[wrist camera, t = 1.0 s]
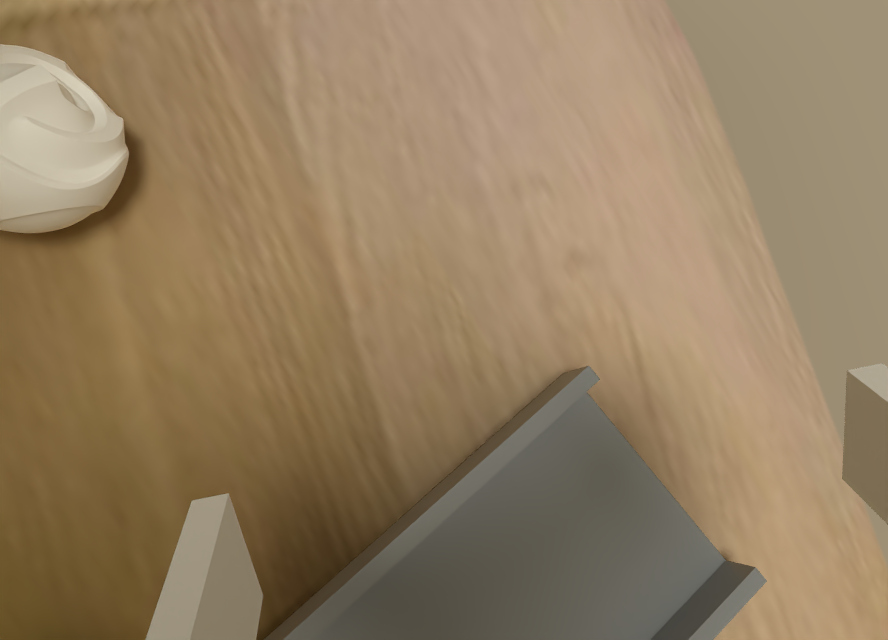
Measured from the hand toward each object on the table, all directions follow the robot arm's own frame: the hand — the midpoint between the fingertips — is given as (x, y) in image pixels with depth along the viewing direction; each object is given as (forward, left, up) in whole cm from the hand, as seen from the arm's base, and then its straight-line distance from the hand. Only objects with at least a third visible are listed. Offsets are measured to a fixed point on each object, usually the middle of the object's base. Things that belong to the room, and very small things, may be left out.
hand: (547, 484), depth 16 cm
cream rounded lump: (-21, -4, -21) cm, 30 cm away
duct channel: (+8, -1, -21) cm, 22 cm away
